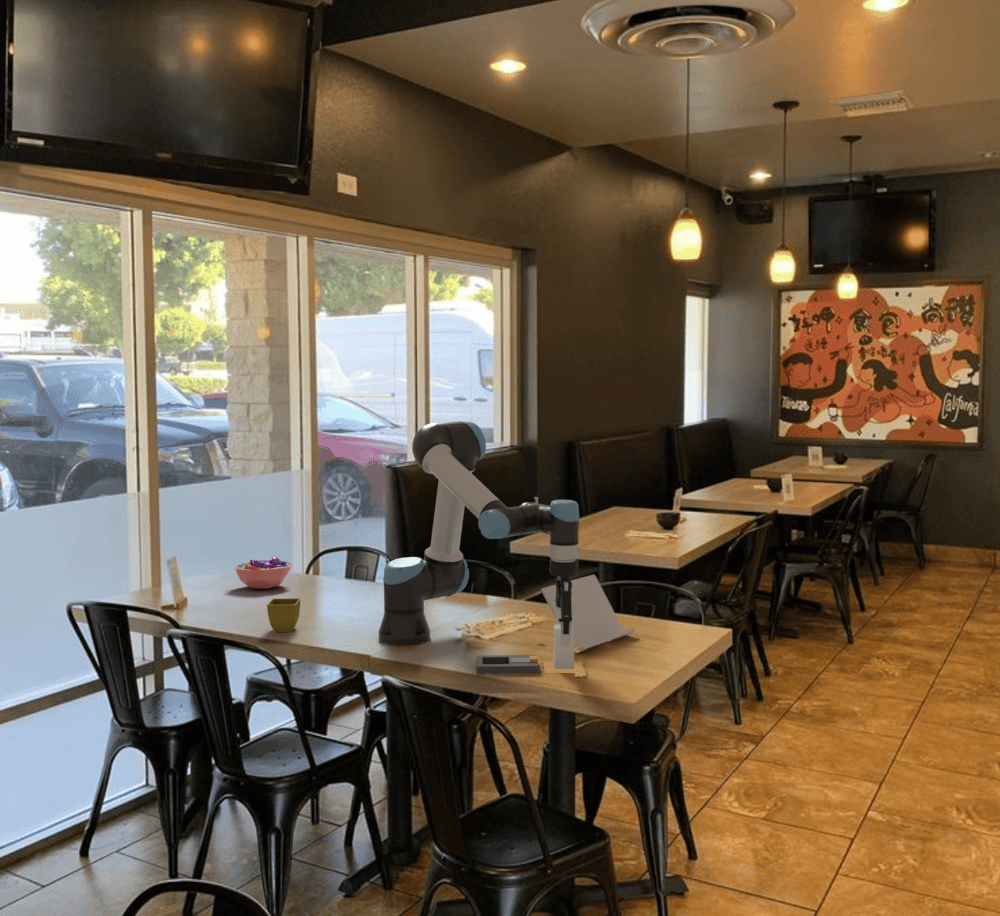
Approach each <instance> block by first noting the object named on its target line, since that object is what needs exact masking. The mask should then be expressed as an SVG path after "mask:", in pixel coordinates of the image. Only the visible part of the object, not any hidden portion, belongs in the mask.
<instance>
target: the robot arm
mask: <svg viewBox="0 0 1000 916" xmlns="http://www.w3.org/2000/svg"><path fill="white" fill-rule="evenodd" d="M412 439H413V440H412V443H411V444H412V447H411V448H412V449H411V450H412V455H413V458H414V460H415V461H416V463H417V465H418V466H419V467H420V468H421V469H422V470H423V471H424V472H425V473H427V474H430V475H434V477H435V478H436V479H438V485H437V491H436V500H435V508H434V515H433V524H432V531H431V541H430V546H429V547H428V548H426V549H425V550H424V555H423V559H422V557H417V556H409V557H400V558H396V559H394V560H391V561H389V562H387V563H386V565H385V567H384V569H383V577H382V581H383V604H384V605H383V606H384V608H383V610H384V611H383V612H384V613H383V617H382V620H381V623H380V626H379V630H378V640H379V642H381V643H383V644H386V645H392V646H413V645H421V644H423V643H426V642H428V641H429V640H430V639H431V630H430V627H429V624H428V621H427V617H426V614H425V605H424V604H425V601H428V600H433V599H434V600H435V599H440V598H444V597H446V598H447V597H451V596H454V595H456V594H459V593H461V592H463V590H464V589H465V588H466V587H467V584H468V581H469V578H470V572H469V571H470V570H469V568H468V565H469V564H468V563H467V561H466V560H465V558H464V554H463V552H462V551H461V550H460V545H461V539H462V538H461V536H462V530H463V521H464V514H465V507H466V508H467V509H468V510H469V511H470V513H471V514H473V515H474V516H475V517H476V518H477V519H478V522H477V523H478V529H479V530H480V533H481V535H482V536H483V537H484V538H486V539H488V540H489V539H490V540H493V539H494V540H495V539H498V540H501V539H503V538H504V539H505V538H510V537H515V536H523V535H528V534H535V533H540V534H545V535H549V558H550V560H549V574H550V575H552V576H554V577H556V579H555V585H556V599H555V602H556V619H555V625H560V646H571V621H572V607H571V595H572V594H571V589H572V582H571V581H572V580H571V579H570V577H574V576H577V575H579V560H578V558H579V551H581V550H582V549H581V548H582V547H581V546H579V543H580V542H579V537H580V536H579V530H580V525H579V524H580V511H579V510H580V507H579V504H578V502H577V501H575V500H572V499H554V500H552V501H551V502H550V505H548V504H542V503H538V502H527V501H526V502H524V503H523V502H522V504H521V505H519V506H512V507H508V506H506V504H505V503H503V502H502V501H501V500H500V499H499V498H498V497H497V496H496V495H495V494H493V493H492V492H491V490H489V488H488V487H487V486H485V485H484V484H483V482H481V481H480V480H479V479H478V478H477V477H476V476H475V475H474V474H473V472H475V470H476V462H478V461H480V460H481V459H483V457H485V454H486V450H487V442H486V437H485V434H484V433H483V430H482V429H481V427H480V426H479V425H478V424H476V423H474V422H471V421H464V420H463V421H462V420H459V421H449V422H434V423H428V424H426V425H424V426H422V427H421V428H420V429H419V430H417V432H416V433H415V435H414V437H413V438H412Z"/></svg>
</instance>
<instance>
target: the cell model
mask: <svg viewBox="0 0 1000 916" xmlns="http://www.w3.org/2000/svg"><path fill="white" fill-rule="evenodd" d="M292 567H293V564H292V563H291V562H288V561H284V560H280V558H279V557H277V556H275V555H271V559H270V560H265V559H263V560H258V559H250V560H249V562H245V563H240V564H237V565H235V567H234V569H235V572H236V574H237V577H238V579H239V580H240V581H241V582H242V584H244V585H246V586H247V587H249V588H250V589H256V590H257V589H258V590H259V589H261V590H268V589H271V588H276V587H279V586H281V584H283V583H284V581H285V579H286V577H287V576H288V574H289V573H290V570H291V569H292Z"/></svg>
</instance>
